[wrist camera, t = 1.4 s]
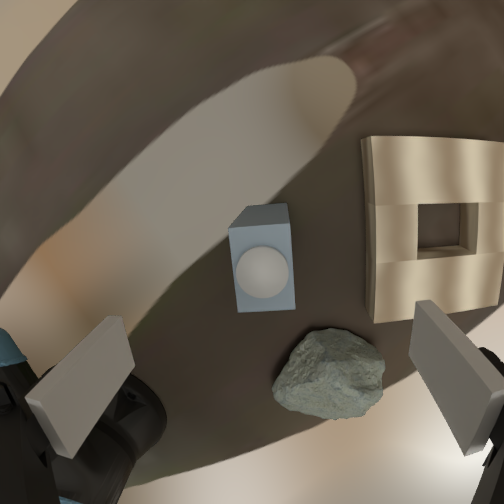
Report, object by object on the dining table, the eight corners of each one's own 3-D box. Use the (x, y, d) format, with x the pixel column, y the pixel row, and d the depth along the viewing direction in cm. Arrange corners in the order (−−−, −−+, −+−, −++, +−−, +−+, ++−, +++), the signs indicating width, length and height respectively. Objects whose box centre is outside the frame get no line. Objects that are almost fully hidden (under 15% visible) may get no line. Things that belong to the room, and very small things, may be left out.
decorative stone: (357, 294, 34) (308, 341, 27) (411, 368, 32) (375, 429, 25) (292, 338, 43) (242, 378, 36) (338, 398, 41) (295, 445, 34)
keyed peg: (252, 263, 34) (236, 317, 22) (247, 206, 33) (226, 230, 20) (291, 260, 34) (295, 314, 22) (286, 202, 32) (290, 225, 20)
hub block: (365, 307, 34) (373, 323, 31) (360, 139, 30) (370, 136, 26) (481, 292, 33) (497, 304, 29) (486, 143, 28) (505, 142, 24)
